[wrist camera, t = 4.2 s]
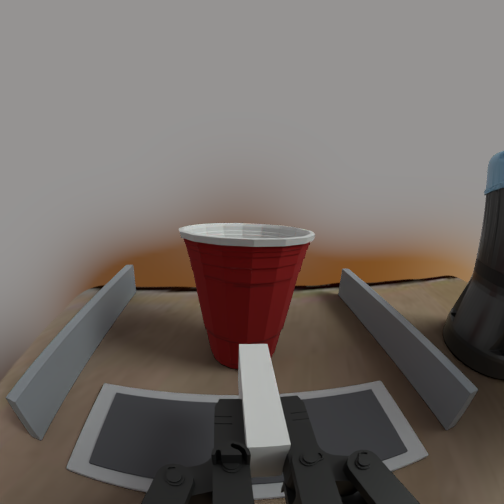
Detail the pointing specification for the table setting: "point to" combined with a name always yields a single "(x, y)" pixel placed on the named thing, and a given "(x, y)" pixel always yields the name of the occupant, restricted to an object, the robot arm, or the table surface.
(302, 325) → the table surface
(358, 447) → the pad
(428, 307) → the table surface
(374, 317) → the guide rails
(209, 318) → the plastic cup
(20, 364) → the table surface
